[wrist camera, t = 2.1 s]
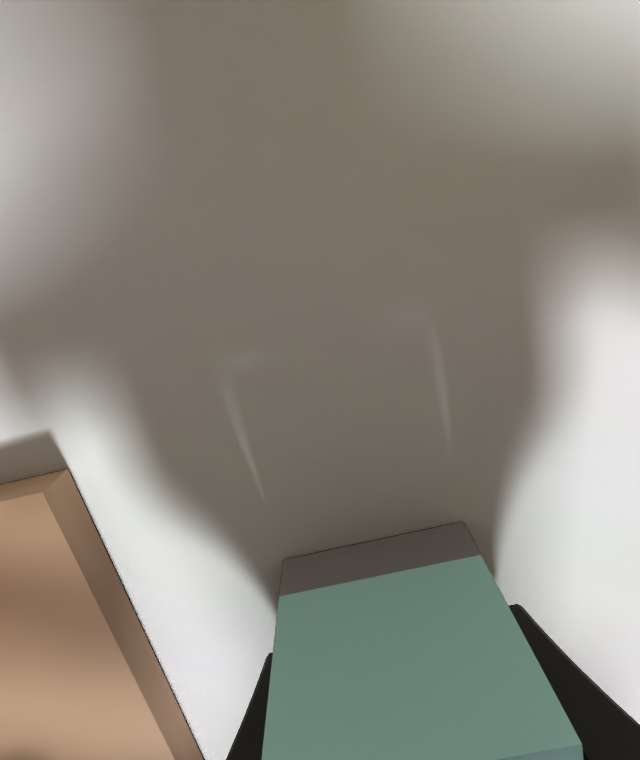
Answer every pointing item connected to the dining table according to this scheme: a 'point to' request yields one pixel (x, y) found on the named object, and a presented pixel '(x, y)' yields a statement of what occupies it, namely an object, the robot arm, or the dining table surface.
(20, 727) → the pin board
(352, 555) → the sleeve
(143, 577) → the dining table surface
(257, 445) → the dining table surface
